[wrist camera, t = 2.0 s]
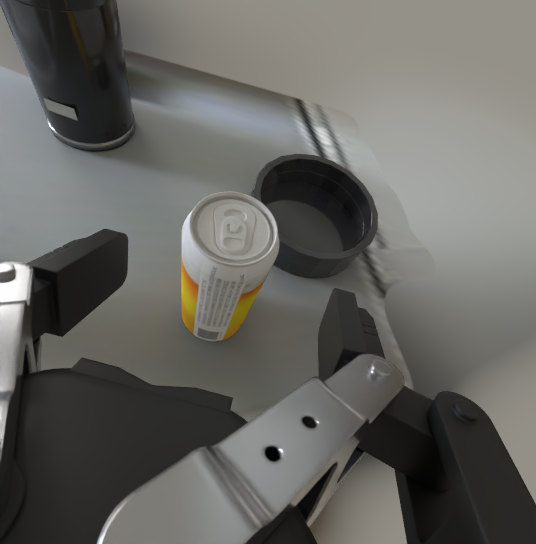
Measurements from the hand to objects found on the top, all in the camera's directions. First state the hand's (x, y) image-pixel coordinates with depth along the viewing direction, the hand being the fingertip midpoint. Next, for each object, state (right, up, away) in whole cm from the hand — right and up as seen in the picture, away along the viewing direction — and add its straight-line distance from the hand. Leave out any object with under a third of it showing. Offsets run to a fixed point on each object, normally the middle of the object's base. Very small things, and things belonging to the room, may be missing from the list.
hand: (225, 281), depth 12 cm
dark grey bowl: (+6, +6, +28) cm, 29 cm away
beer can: (-4, -4, +20) cm, 21 cm away
